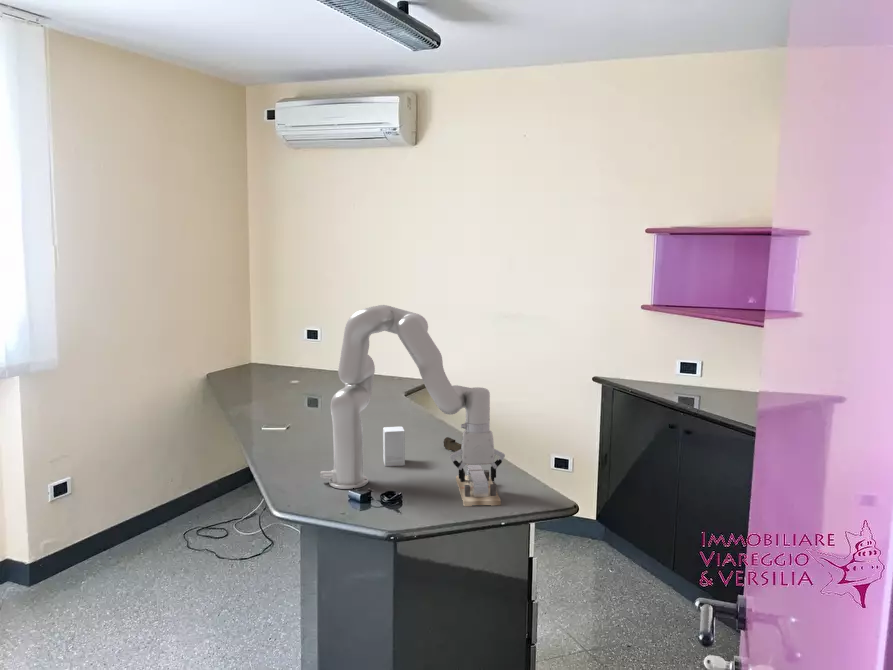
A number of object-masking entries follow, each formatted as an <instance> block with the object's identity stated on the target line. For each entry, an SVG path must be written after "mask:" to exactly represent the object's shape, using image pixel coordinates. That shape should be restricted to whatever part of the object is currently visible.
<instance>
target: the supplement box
mask: <svg viewBox="0 0 893 670" xmlns="http://www.w3.org/2000/svg"><path fill="white" fill-rule="evenodd" d="M405 433H406V431H405V429H404V427H403V426H385V427H383V428H382V448H383V449H382V454H383V456H382V457H383V458H382V460H383V464H384V467H395V466H396V467H398V466H405V465H406V447H405V446H406V445H405V443H406V441H405V440H406V439H405V438H406V437H405Z"/></svg>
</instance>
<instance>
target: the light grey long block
mask: <svg viewBox="0 0 893 670" xmlns="http://www.w3.org/2000/svg"><path fill="white" fill-rule="evenodd" d="M481 465H482V464H481ZM481 465H466V474H467V475H466V476H467V480H468V482H469V485H470V488H471V491H472V493H473V496H474V497H488V481H487V479H486V476H485V474H484V469H483V468H482V466H481Z"/></svg>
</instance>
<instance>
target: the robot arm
mask: <svg viewBox="0 0 893 670" xmlns="http://www.w3.org/2000/svg"><path fill="white" fill-rule="evenodd" d="M428 331H429V324H428V321H427V320H426V318H425V317H424V316H423V315H421V314H420V313H415V312H413V311H408V310H405V309H401V308H397V307H394V306H391V305H387V304H380V305H379V304H378V305H373V306H370V307H365V308H362V309H360V310H357V311H355V312H354V313H353V314H352V315H350V317H349V318H348V319H347V321H346V323H345V327H344V332H343V339H342V345H341V349H340V356H339V357H340V358H339V364H338V365H339V366H338V370H337V371H338V374H337V375H338V378H339V380H340V381H341V382H342V384H344V387H343V388H341V389H339V390H337V392H336V393H334V394H333V396H332V398H331V400H330V414H331V420H332V440H333V441H332V442H333V445H332V446H333V447H332V448H333V468H332V469H331V470H328V471H327V470H321V471H320V474H319V477H320V478H323V479H324V480H325V479H329V481H328V482H329V483H328V484H329V486H330V487H332V488H335V489H341V490H351V489H352V490H353V488H354V489H358V488H361V487H364V486H366V485H367V484H368V483H369V478H368V477H367V476H366V475H364V450H363V449H364V441H363V439H364V438H363V437H364V435H363V432H364V431H363V422H362V418H361V417H362V416H361V412H362V411H363V410H366V408H367V407H368V405H369V404H370V401H371V397H372V392H373V386H374V378H375V373H376V372H375V371H376V370H375V369H376V368H375V367H376V365H375V361H374V359H373V357H371V356H370V355H369V349H370V336H371V335H374V334H378V333H382V332H388V333H390V334H391V333H392V334H394V335H397V336H398V339H399V340H400V341H401V343H402V344H403V347H404V348H405V349H406V351H407V352H408V354H409V355H410V357H411V359H412V360H413V362H414V364H415V365H416V367H417V369H418V371H419V372H418V373H419V375H420V377H421V379H422V382H423V384H424V386H425V388H426V391H427V393H428V394H429V396H430V397H431V399H432V400H433V402H434V404H435V405H436V407H437V408H438V409H439V410H440V411H441V412H442V413H443V414H445V415H449V416H450V415H452V416H453V415H455V414H457V413H458V412H459V411H460V410H461V409H465V421H464V423H461V424H460V428H461V429H464V430H463V433H462V439H461V444H462V447H461V449H460V450H458V451H456V452H455V451H453V453H451V454H450V455H449V458H450V460H451V461H452V463H453V465H454V466H455V467H456V468H457V469H458V476H459V479H461V482H464V471H465V470H464V467H465V466H467V465H491V466H490V478H491V480H492V482H495V478H497V469H498V467H499V466H500V465H501V464H502V462H503V460H504V459H505V457H506V454H505V453H504V452H502V451H500V450H498V449H496V448H495V442H494V435H493V432H492V430H490V427H491V426H490V425H491V423H490V418H491V417H490V416H491V415H490V413H491V412H490V411H491V410H490V409H491V407H490V406H491V405H490V404H491V394H490V390H489V389H488V388H485V387H478V386H477V387H469V386H468V387H467V386H463V385H458V384H456V385H452V383H451V381H450V380H449V379H448V377H447V374H446V372H445V369H444V365H443V356H442V353H441V351H440V349H439V348H438V346H437V345H436V342H434V340H433V339H432V337H431V335H430V334H429V332H428ZM495 455H496V456H498V458H497V459H496V460H495ZM459 456H460V458H461V460H460V461H458V460H457V459H456V458H457V457H459Z"/></svg>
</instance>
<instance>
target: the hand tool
mask: <svg viewBox="0 0 893 670" xmlns="http://www.w3.org/2000/svg"><path fill="white" fill-rule="evenodd" d="M443 447H445V448H444V449H445V450H447V449H448V450H447V451H449V450H452V451H451V452H456V451H458V450H460V449H461V447H462V443H459V442H457V441H456V439H453V438H451V437H445V438H444V439H443Z"/></svg>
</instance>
